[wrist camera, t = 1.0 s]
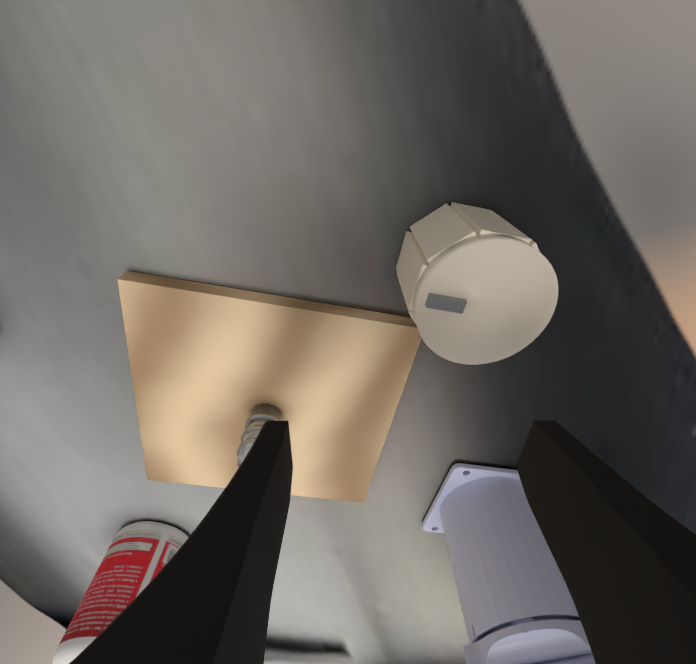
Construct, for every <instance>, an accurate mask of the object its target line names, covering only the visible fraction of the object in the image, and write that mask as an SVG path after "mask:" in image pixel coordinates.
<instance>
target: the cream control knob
mask: <svg viewBox="0 0 696 664" xmlns="http://www.w3.org/2000/svg"><path fill="white" fill-rule="evenodd" d="M410 229H411V231H412V232H409V231H406V234H405V237H404V241H403V244H402V248H401V251H400V255H399V259H398V262H397V266H396V271H397V277H398V280H399V283H400V286H401V290H402V293H403V296H404V299H405V303H406V306H407V309H408V312H409V315H410V316H411V318H412V319H413V321H414V322H415V324H416V325H417V328H418V330H419V333H420V336H421V337H422V339H423V341H424V342H425V344H426V345H427V346H428V347H429V348H430V349H431V350H432V351H433V352H434V353H436V354H437V355H439V356H440V357H442V358H444V359H446V360H449V361H452V362H455V363H460V364H469V365H478V364H487V363H491V362H495V361H499V360H502V359H504V358H507V357H509V356H511V355H513V354H515V353H517V352H519V351H520V350H522V349H523V348H525V347H526V346H528V345H529V344H530V343H531V342H532V341H534V340H535V339H536V338H537V337H538V336H539V335H540V334H541V332H542V331H543V330H544V329H545V327H546V326H547V324H548V323H549V321H550V319H551V317H552V315H553V313H554V310H555V307H556V304H557V299H558V281H557V277H556V274H555V271H554V269H553V267H552V265H551V264H550V262H549V261H548V260H547V259H546V258H545V257H544V256H543V255H542V254H541V253H540V251H539V249H538V247H537V244H536V243H535V242H534V241H533V240H532V239H530V238H529V237H527V236H526V235H525V234H523V233H522V232H521V231H519V230H518V229H517V228H515V227H514V226H512V225H511V224H510V223H508V222H507V221H506V220H504V219H503V218H502V217H500V216H499V215H498V214H496V213H495V212H493V211H492V210H489V209H484V208H479V207H474V206H469V205H464V204H459V203H454V202H452V203H451V206H449V205H448V204H447V203H446V204H444V205H443V206H441V207H439V208H438V209H436V210H435V211H433V212H432V213H430V214H429V215H427V216H425V217H424V218H422V219H421V220H419V221H418V222H416V223H415V224H413V225H411V226H410Z"/></svg>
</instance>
